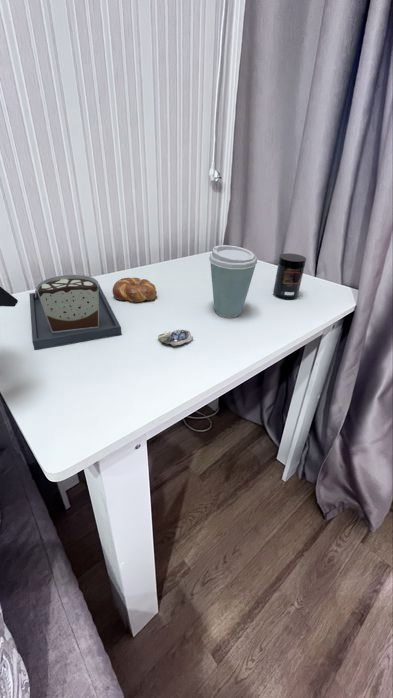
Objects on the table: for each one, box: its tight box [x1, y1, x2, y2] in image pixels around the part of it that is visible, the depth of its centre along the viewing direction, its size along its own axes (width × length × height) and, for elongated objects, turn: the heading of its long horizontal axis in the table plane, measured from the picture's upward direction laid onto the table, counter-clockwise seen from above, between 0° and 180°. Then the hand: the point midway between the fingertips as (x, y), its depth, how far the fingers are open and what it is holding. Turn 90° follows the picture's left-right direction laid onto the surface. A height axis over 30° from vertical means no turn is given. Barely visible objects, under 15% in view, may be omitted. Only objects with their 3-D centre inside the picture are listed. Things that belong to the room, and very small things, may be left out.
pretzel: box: [112, 277, 158, 303], centre depth 85 cm, size 12×11×4 cm
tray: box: [28, 288, 123, 351], centre depth 74 cm, size 17×24×2 cm
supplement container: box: [272, 252, 307, 300], centre depth 87 cm, size 7×7×10 cm
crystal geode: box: [157, 329, 194, 347], centre depth 68 cm, size 7×8×2 cm
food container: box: [34, 274, 103, 333], centre depth 68 cm, size 12×6×10 cm, turn 108°
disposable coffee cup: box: [208, 244, 258, 319], centre depth 76 cm, size 11×11×15 cm
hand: (2, 294), depth 51 cm, fingers open, 9 cm apart
